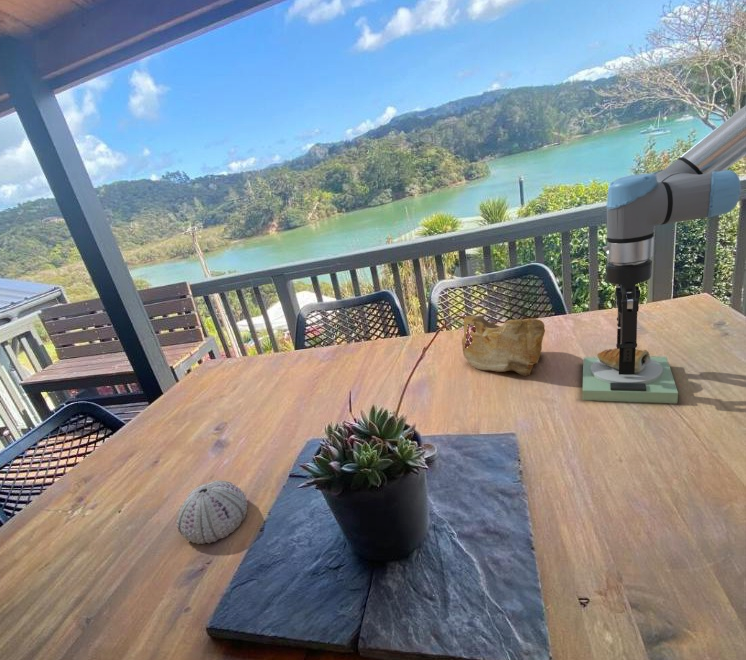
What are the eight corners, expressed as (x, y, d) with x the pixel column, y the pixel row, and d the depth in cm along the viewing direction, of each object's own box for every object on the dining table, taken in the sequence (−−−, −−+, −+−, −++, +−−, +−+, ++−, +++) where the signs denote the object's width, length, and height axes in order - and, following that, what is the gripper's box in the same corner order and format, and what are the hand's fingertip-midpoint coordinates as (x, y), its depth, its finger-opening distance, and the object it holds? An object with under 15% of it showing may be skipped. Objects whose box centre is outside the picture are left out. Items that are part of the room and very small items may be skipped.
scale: (665, 368, 97) (666, 353, 95) (677, 406, 84) (678, 389, 83) (583, 368, 105) (583, 354, 103) (582, 402, 92) (582, 387, 91)
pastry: (591, 366, 96) (591, 350, 95) (605, 354, 100) (606, 339, 98) (639, 374, 89) (640, 358, 88) (653, 362, 92) (654, 345, 91)
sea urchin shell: (253, 491, 90) (241, 459, 87) (249, 539, 78) (235, 504, 75) (190, 508, 90) (176, 477, 87) (176, 560, 77) (159, 526, 74)
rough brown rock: (575, 365, 108) (575, 307, 103) (533, 388, 101) (531, 326, 96) (498, 349, 127) (496, 300, 123) (458, 367, 120) (453, 315, 115)
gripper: (604, 249, 95) (603, 344, 103) (607, 277, 79) (606, 387, 87) (646, 245, 91) (641, 344, 100) (658, 273, 75) (651, 388, 84)
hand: (625, 364), depth 93 cm, fingers closed on pastry, 8 cm apart
